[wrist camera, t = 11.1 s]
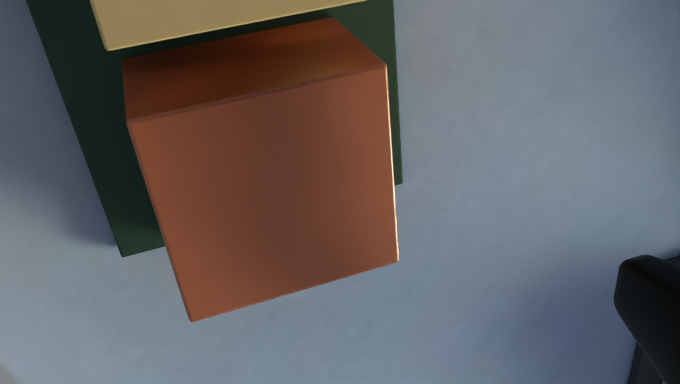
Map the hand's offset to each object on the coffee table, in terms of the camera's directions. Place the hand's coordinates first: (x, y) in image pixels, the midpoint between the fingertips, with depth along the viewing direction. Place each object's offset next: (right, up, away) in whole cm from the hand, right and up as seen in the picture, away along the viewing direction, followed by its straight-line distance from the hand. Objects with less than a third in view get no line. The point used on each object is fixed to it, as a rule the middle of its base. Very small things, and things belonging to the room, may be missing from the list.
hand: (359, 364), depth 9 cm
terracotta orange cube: (-3, +4, +7) cm, 8 cm away
